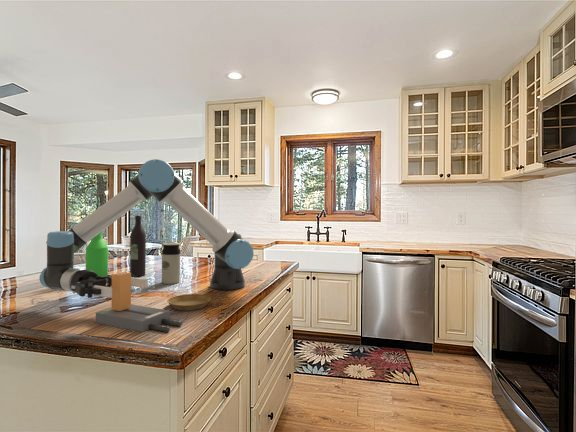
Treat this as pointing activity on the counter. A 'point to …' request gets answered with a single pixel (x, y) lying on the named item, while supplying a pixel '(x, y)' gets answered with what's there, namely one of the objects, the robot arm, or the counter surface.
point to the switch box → (137, 318)
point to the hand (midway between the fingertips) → (129, 287)
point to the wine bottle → (137, 249)
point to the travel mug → (170, 263)
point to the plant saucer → (189, 301)
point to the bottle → (97, 256)
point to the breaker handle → (121, 291)
